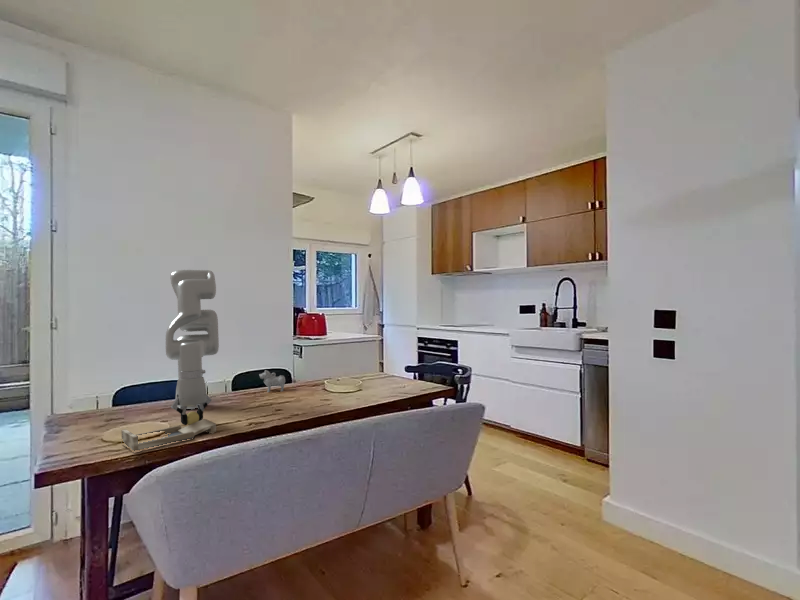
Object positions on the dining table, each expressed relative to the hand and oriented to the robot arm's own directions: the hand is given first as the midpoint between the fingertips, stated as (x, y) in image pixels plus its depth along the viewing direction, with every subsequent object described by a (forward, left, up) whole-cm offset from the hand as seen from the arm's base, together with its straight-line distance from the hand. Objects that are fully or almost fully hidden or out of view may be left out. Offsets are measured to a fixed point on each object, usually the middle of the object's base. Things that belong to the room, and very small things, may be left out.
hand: (192, 422), depth 176 cm
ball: (0, 0, +1) cm, 1 cm away
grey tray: (+11, -16, -1) cm, 19 cm away
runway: (+11, -16, -1) cm, 19 cm away
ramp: (+11, -3, -1) cm, 12 cm away
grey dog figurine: (-31, +53, -1) cm, 62 cm away
